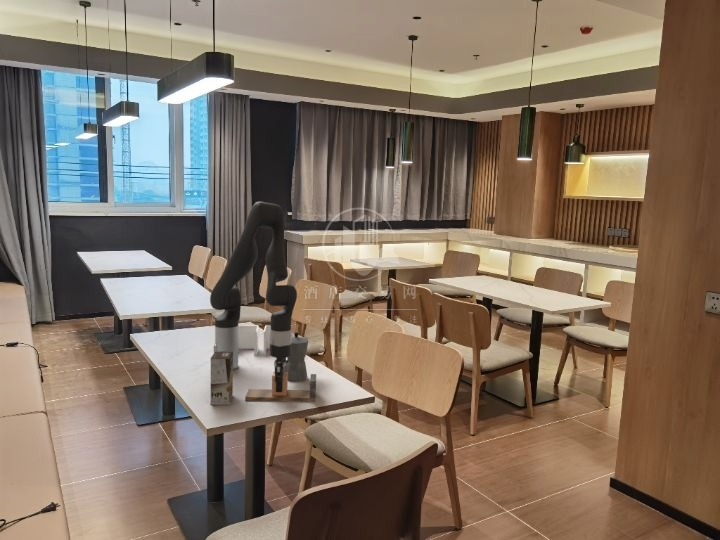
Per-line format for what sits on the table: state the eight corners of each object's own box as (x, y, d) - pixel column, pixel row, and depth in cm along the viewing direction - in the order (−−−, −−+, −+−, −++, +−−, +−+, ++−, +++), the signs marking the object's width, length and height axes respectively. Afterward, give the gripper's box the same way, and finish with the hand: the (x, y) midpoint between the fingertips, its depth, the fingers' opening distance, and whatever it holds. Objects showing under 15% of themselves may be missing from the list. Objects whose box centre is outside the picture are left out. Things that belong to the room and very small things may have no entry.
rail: (245, 400, 198) (245, 380, 197) (248, 392, 206) (248, 372, 205) (315, 401, 200) (315, 381, 199) (315, 393, 207) (316, 374, 206)
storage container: (289, 349, 264) (289, 325, 263) (288, 355, 253) (289, 331, 252) (233, 348, 262) (233, 325, 260) (230, 355, 251) (231, 331, 249)
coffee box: (229, 405, 194) (229, 358, 191) (210, 405, 193) (210, 358, 191) (233, 395, 203) (233, 351, 200) (214, 395, 202) (214, 350, 200)
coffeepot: (296, 371, 232) (297, 327, 229) (315, 376, 227) (316, 331, 224) (271, 381, 219) (271, 335, 216) (290, 386, 214) (291, 339, 211)
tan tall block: (271, 395, 200) (272, 375, 199) (273, 390, 205) (273, 371, 204) (286, 395, 201) (286, 376, 200) (287, 391, 205) (287, 372, 204)
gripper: (271, 336, 207) (271, 382, 209) (267, 347, 193) (266, 396, 195) (292, 337, 207) (291, 382, 210) (290, 347, 193) (289, 396, 196)
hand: (279, 389), depth 202 cm, fingers closed on tan tall block, 4 cm apart
